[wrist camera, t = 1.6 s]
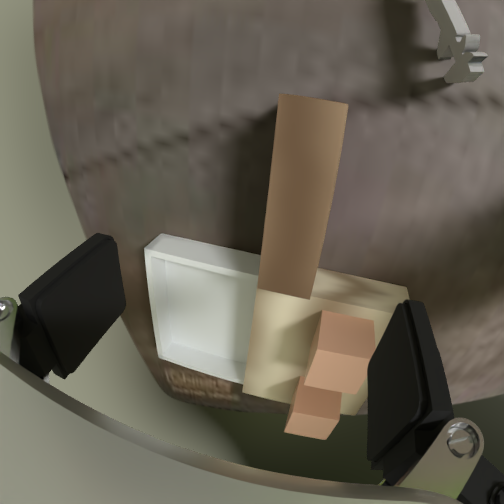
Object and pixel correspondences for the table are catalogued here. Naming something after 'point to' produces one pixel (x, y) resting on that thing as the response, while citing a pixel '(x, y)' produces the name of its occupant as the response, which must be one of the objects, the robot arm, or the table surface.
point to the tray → (202, 304)
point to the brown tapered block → (300, 192)
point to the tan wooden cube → (313, 411)
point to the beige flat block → (310, 331)
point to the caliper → (456, 42)
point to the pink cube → (340, 353)
